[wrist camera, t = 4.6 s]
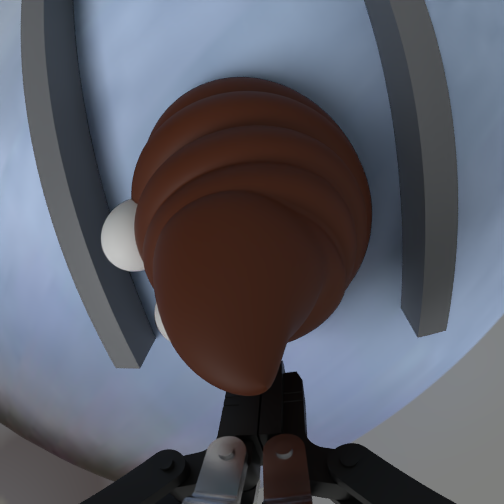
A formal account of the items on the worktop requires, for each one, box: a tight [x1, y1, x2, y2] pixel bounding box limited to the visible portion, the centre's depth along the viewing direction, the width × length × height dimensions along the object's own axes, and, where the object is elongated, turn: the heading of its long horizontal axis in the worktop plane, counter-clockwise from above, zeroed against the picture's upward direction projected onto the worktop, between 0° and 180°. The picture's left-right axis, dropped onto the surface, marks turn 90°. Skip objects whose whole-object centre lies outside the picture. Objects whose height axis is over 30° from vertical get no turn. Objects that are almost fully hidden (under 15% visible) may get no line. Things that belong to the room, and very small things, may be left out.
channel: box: [21, 0, 458, 369], centre depth 9 cm, size 22×16×5 cm
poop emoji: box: [101, 77, 372, 396], centre depth 8 cm, size 10×9×9 cm
